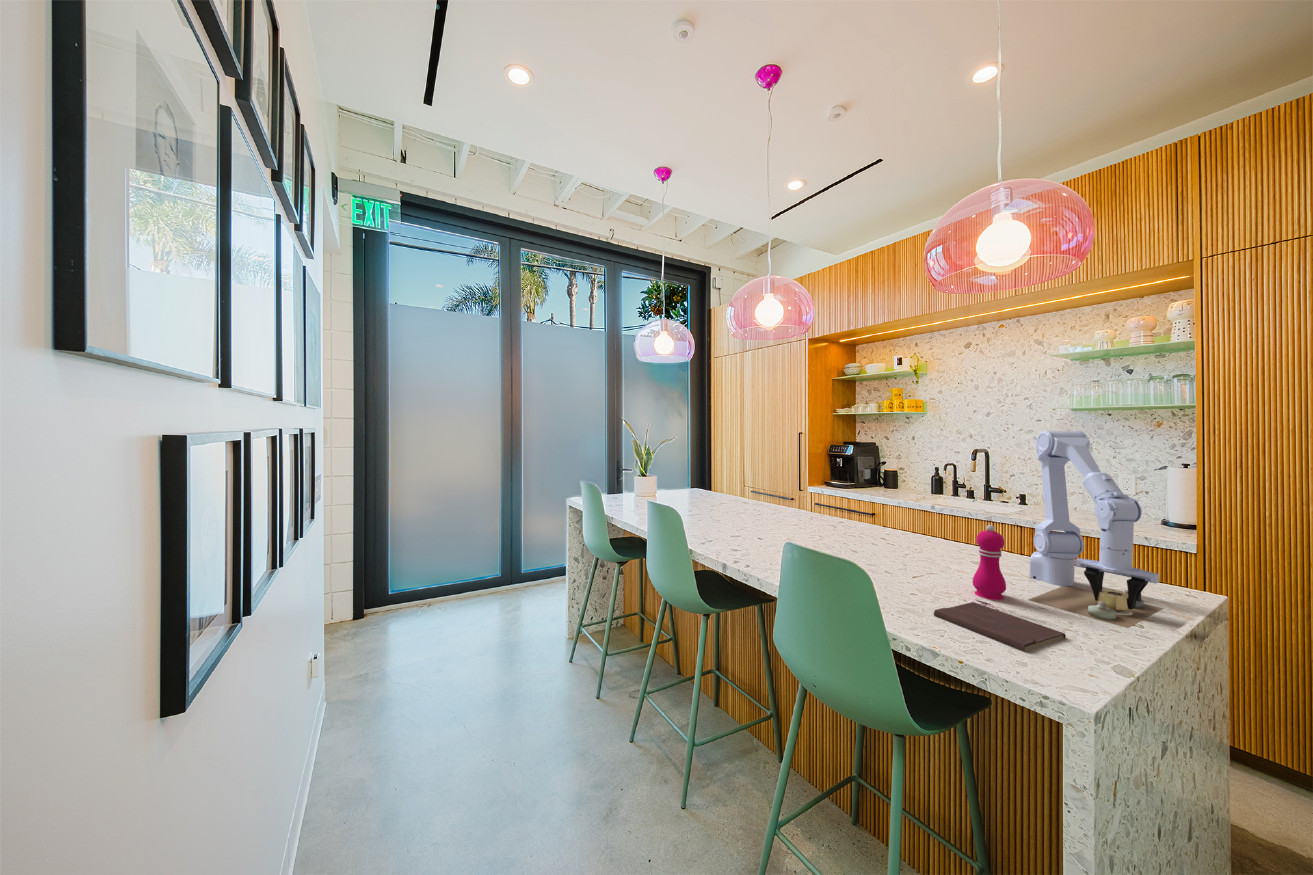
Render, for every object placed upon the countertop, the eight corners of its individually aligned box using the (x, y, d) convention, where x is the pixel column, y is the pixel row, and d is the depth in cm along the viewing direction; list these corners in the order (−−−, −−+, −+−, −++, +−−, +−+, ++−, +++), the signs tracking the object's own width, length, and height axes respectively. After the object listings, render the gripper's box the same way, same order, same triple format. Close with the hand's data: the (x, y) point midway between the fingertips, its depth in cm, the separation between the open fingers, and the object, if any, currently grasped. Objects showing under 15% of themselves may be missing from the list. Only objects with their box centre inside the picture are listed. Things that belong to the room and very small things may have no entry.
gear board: (1027, 605, 122) (1027, 583, 122) (1066, 590, 133) (1066, 569, 133) (1127, 634, 106) (1128, 608, 105) (1163, 614, 116) (1163, 591, 116)
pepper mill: (1011, 607, 121) (1013, 528, 120) (979, 605, 123) (981, 527, 122) (997, 596, 128) (999, 522, 127) (967, 594, 130) (968, 521, 129)
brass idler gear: (1095, 604, 116) (1095, 591, 116) (1104, 599, 119) (1104, 588, 119) (1124, 611, 112) (1125, 599, 112) (1133, 607, 114) (1134, 594, 114)
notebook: (974, 607, 122) (974, 600, 122) (1065, 640, 104) (1066, 631, 104) (933, 617, 116) (933, 609, 116) (1023, 654, 98) (1023, 644, 98)
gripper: (1070, 543, 119) (1069, 597, 120) (1152, 557, 107) (1149, 618, 107) (1083, 539, 123) (1081, 592, 123) (1163, 553, 110) (1161, 611, 111)
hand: (1114, 604), depth 115 cm, fingers closed on brass idler gear, 5 cm apart
